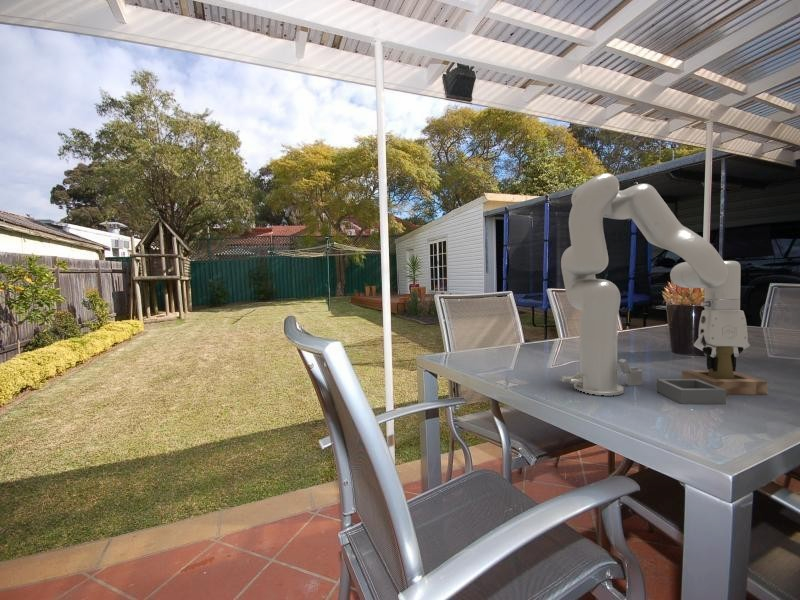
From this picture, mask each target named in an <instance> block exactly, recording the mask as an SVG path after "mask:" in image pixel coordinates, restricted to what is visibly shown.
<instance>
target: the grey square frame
mask: <svg viewBox="0 0 800 600" xmlns="http://www.w3.org/2000/svg"><path fill="white" fill-rule="evenodd" d="M656 392H657V393H658V392H659V393H658V394H660V393H661V395H662V394H663V396H664V395H665V397H666V396H667V397H666V398H668V397H669V398H668V399H670V400H672V401H674V402H677V403H678V404H682V405H686V404H687V405H688V404H689V405H706V404H707V405H727V395H726V390H725V389H722V388H720V387H717V386H714V385H712V384H709V383H706V382H704V381H701V380H698V379H682V378H676V379H675V378H672V379H671V378H663V379H661V378H659V379H658V378H657V379H656Z"/></svg>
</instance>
